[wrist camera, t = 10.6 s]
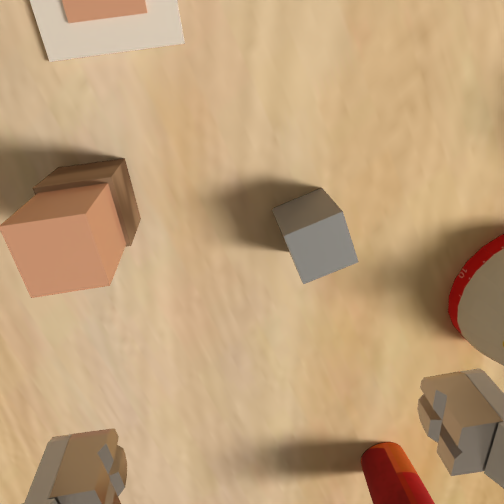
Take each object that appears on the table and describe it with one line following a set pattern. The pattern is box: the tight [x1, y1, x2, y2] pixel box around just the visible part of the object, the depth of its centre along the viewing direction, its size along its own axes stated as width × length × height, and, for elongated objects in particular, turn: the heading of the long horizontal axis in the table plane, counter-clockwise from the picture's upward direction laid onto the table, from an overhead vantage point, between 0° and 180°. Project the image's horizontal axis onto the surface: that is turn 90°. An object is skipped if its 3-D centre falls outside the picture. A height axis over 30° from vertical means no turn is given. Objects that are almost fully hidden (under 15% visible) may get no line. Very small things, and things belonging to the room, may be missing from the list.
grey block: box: [272, 188, 358, 284], centre depth 32 cm, size 4×4×6 cm
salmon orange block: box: [0, 183, 126, 298], centre depth 24 cm, size 4×4×6 cm
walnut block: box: [33, 158, 141, 247], centre depth 29 cm, size 5×5×5 cm
